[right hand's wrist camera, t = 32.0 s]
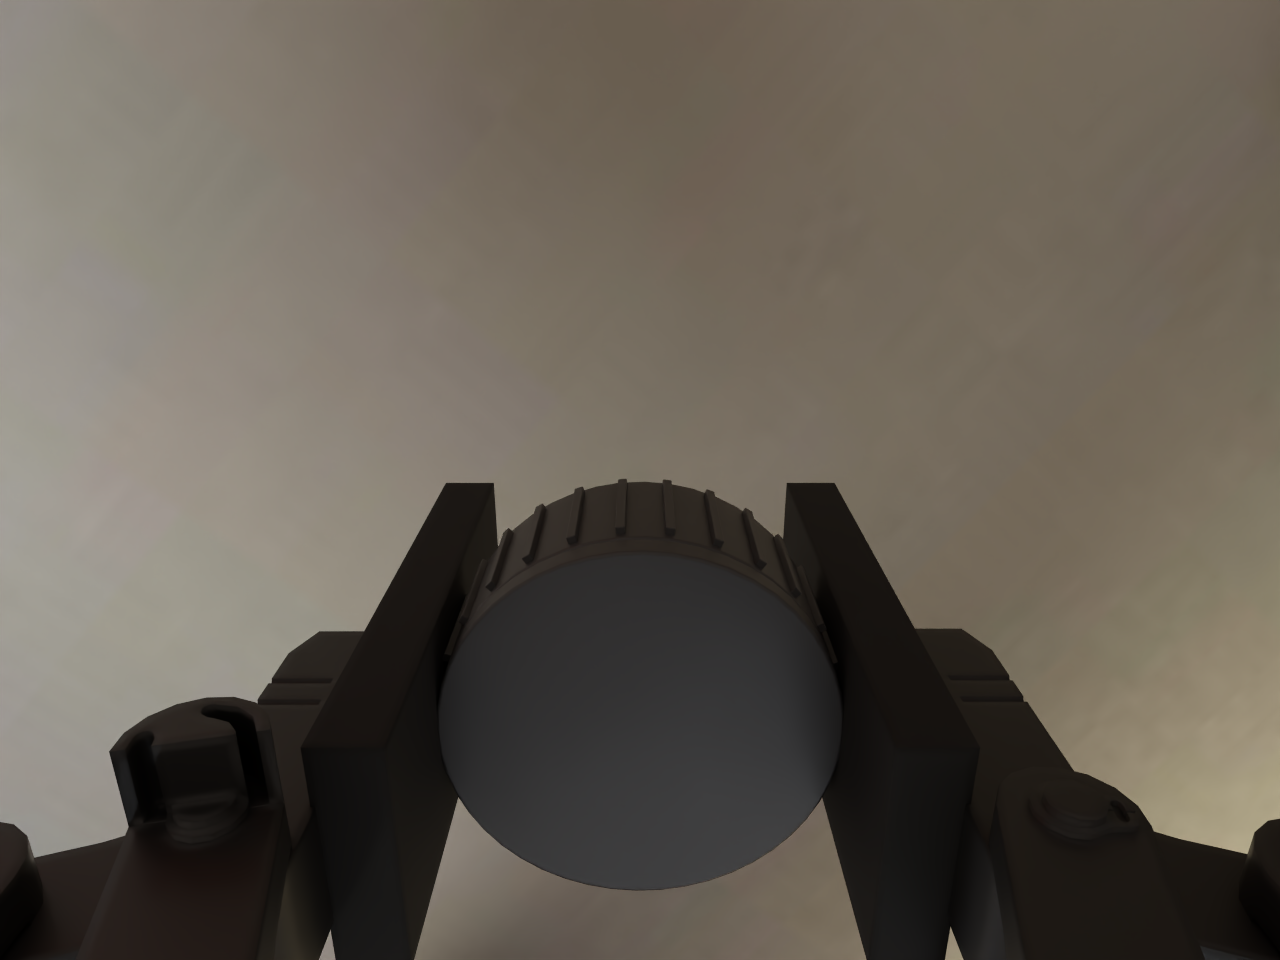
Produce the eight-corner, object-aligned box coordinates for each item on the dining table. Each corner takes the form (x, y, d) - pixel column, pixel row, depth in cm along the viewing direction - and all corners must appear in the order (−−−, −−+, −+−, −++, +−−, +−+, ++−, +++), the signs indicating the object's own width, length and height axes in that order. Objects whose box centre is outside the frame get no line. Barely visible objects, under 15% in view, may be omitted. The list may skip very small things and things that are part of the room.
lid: (718, 408, 11) (735, 467, 9) (875, 700, 13) (917, 803, 11) (392, 576, 12) (344, 663, 10) (576, 830, 13) (565, 947, 11)
